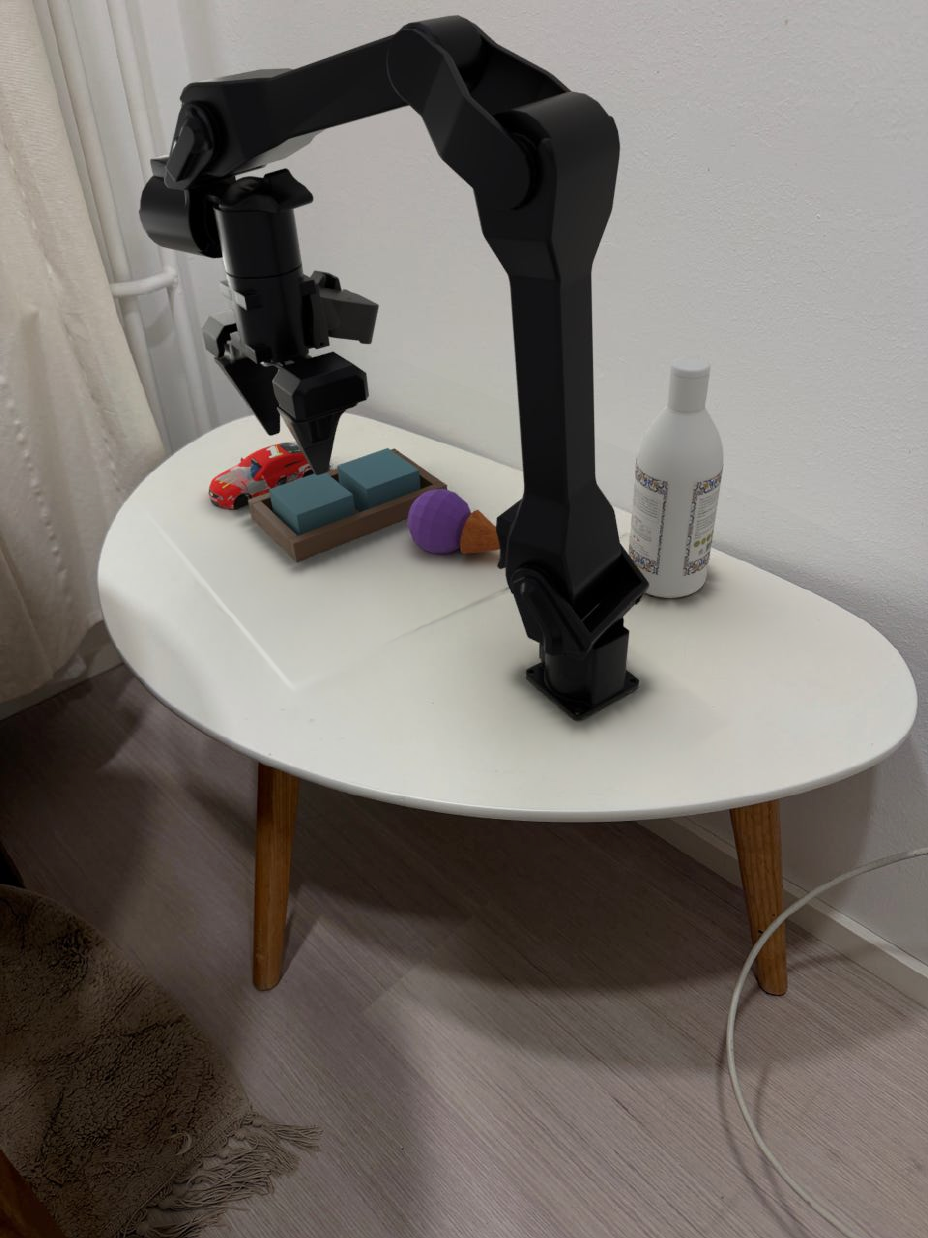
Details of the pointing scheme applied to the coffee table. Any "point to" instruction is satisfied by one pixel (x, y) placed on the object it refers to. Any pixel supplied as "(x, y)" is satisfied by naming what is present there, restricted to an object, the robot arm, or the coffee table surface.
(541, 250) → the robot arm
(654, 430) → the bath foam
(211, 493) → the race car
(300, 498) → the loose pad
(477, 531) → the purple ice cream cone
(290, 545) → the frame
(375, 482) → the teal square block
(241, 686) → the coffee table surface
